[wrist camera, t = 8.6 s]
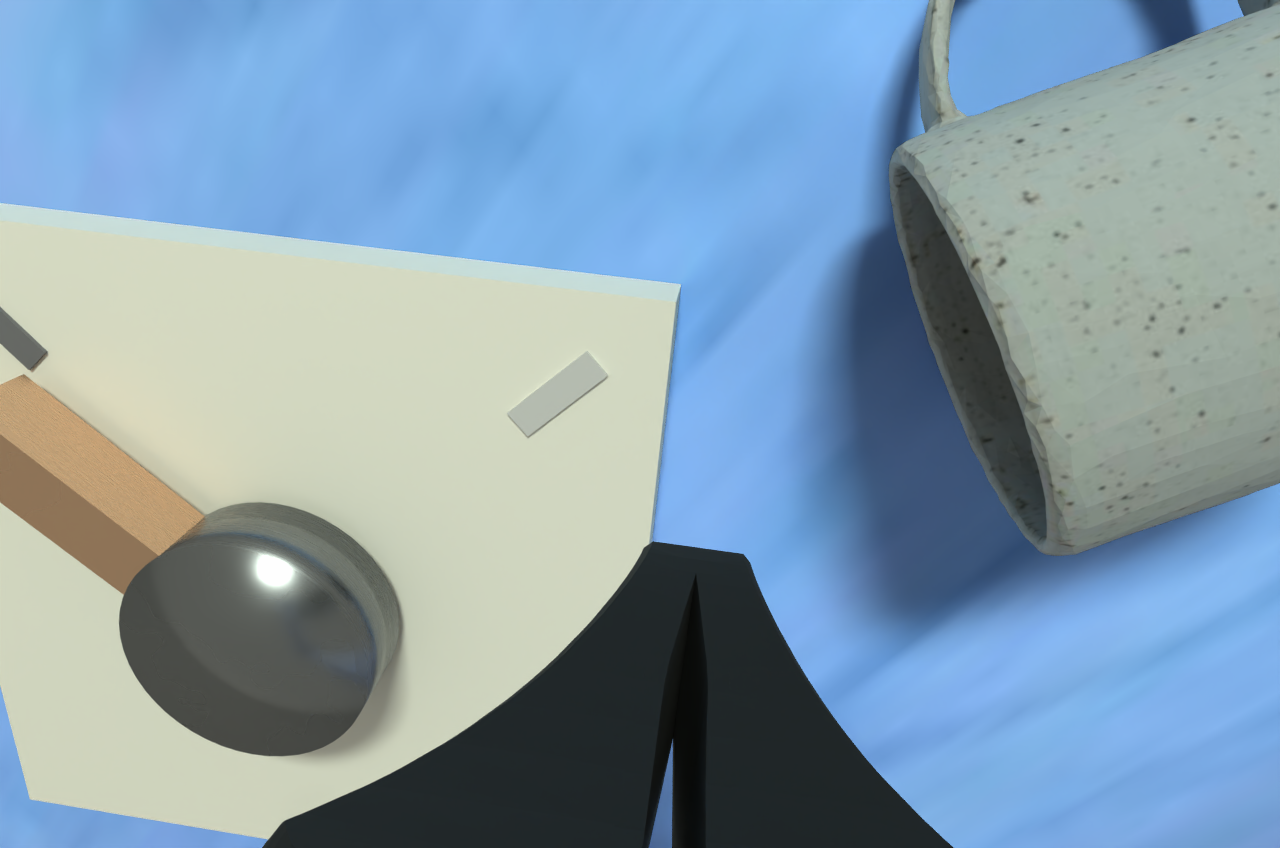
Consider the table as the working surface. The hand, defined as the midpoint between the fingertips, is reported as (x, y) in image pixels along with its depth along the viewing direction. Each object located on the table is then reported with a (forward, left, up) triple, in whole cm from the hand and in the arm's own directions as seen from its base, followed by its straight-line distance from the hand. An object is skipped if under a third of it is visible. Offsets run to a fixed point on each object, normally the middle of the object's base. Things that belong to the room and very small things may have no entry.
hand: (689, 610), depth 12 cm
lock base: (-7, +10, -9) cm, 15 cm away
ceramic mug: (+5, -7, -10) cm, 13 cm away
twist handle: (-5, +12, -7) cm, 15 cm away
